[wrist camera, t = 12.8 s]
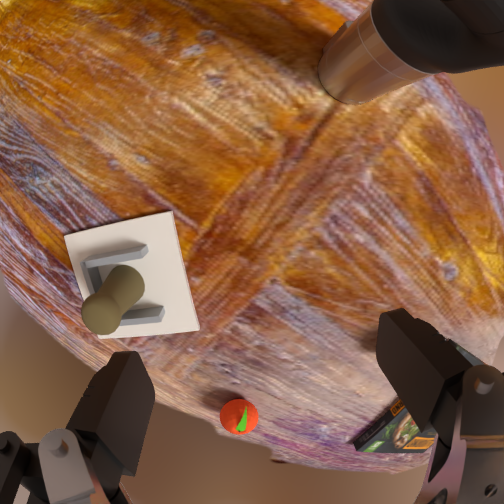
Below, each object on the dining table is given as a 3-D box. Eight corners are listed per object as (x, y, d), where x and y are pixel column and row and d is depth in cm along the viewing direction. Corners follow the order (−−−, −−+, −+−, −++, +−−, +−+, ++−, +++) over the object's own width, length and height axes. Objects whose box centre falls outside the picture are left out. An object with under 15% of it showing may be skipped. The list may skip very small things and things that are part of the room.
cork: (141, 307, 39) (117, 350, 28) (106, 295, 38) (73, 332, 28) (148, 271, 37) (120, 307, 27) (110, 259, 37) (74, 290, 26)
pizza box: (491, 367, 54) (497, 373, 51) (419, 445, 62) (423, 452, 59) (448, 338, 48) (457, 346, 44) (352, 441, 55) (356, 451, 52)
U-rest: (67, 234, 36) (53, 241, 32) (172, 210, 36) (165, 215, 32) (101, 335, 41) (92, 348, 37) (199, 326, 41) (196, 341, 38)
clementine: (225, 384, 45) (225, 413, 38) (263, 390, 46) (267, 419, 39) (216, 411, 47) (215, 439, 40) (251, 416, 48) (253, 443, 41)
